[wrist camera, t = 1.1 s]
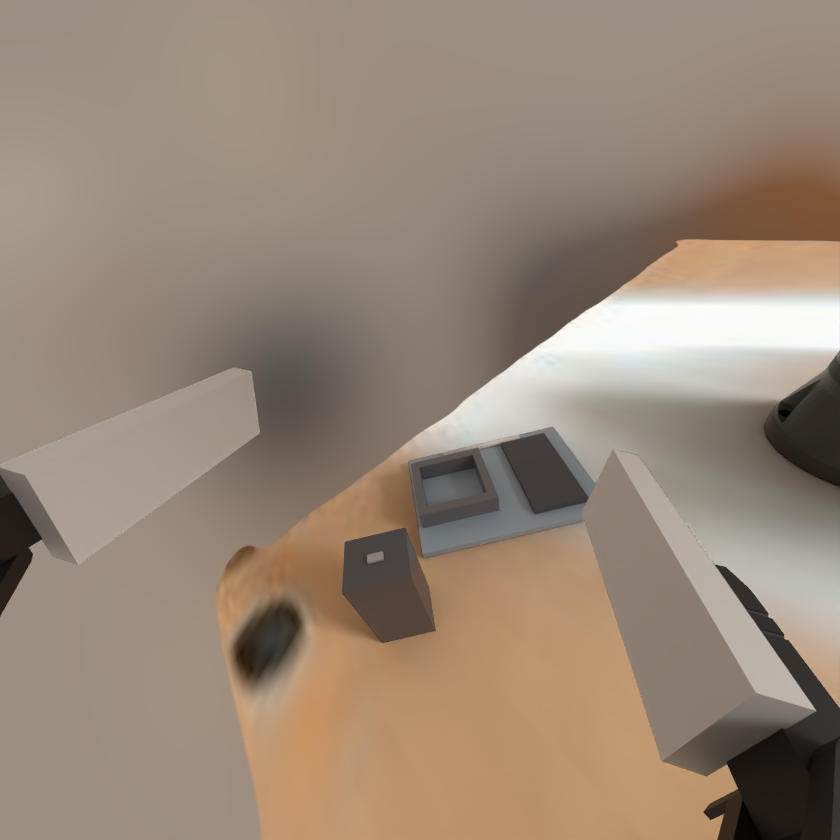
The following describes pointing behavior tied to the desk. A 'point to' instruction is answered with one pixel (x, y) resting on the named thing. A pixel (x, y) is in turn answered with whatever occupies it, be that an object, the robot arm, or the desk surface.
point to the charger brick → (387, 585)
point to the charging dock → (497, 491)
